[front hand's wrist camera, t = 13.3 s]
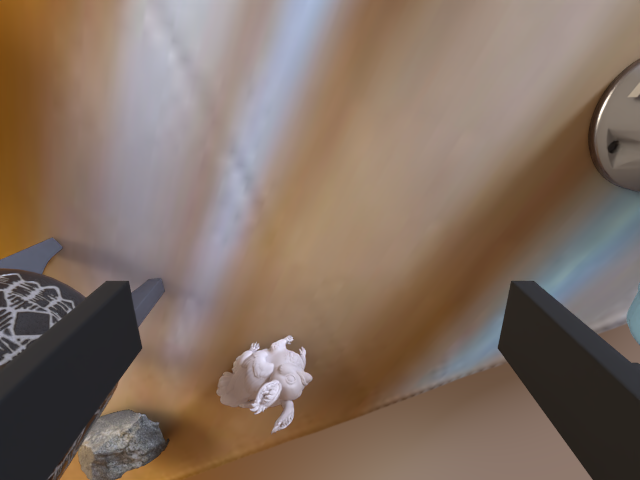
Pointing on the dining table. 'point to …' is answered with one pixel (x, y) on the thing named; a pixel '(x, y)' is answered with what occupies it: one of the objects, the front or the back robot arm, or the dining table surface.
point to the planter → (49, 312)
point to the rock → (120, 445)
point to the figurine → (266, 380)
